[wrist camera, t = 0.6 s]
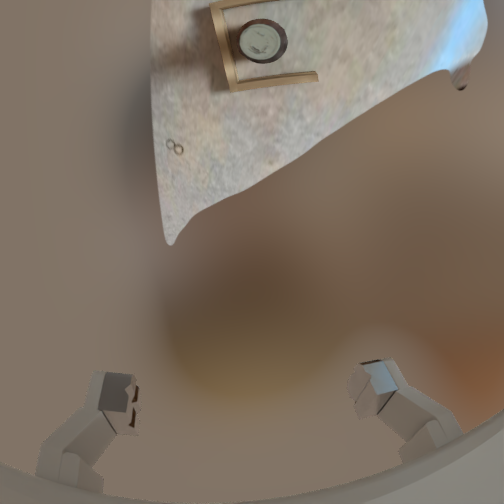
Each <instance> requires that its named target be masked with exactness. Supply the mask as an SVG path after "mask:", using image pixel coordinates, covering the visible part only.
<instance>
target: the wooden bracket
mask: <svg viewBox="0 0 504 504" xmlns="http://www.w3.org/2000/svg"><path fill="white" fill-rule="evenodd" d="M270 1H278V0H223V1H218V2H214V3H210V4H209V6H210V10H211V14H212V18H213V22H214V27H215V31H216V35H217V39H218V43H219V47H220V51H221V55H222V59H223V63H224V68H225V72H226V76H227V80H228V84H229V89H230V93H231V92H237V91H243V90H249V89H255V88H262V87H269V86H277V85H286V84H295V83H306V82H319V81H318V74H317V73H316V72H315V71H311V72H299V73H289V74H280V75H272V76H265V77H258V78H252V79H245V80H240V81H239V77H238V73H237V68H236V64H235V60H234V55H233V51H232V47H231V43H230V38H229V34H228V30H227V26H226V21H225V17H224V13H223V10H224V9H228V8H233V7H238V6H244V5H250V4H256V3H262V2H270Z"/></svg>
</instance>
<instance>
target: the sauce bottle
mask: <svg viewBox="0 0 504 504" xmlns="http://www.w3.org/2000/svg"><path fill="white" fill-rule="evenodd" d="M287 44H288V40H287V36H286V33H285V31H284V29H283V28H282V27H281V26H280V25H279V24H278V23H276V22H274V21H272V20H268V19H255V20H251V21H249V22H247V23H246V24H244V25H243V26H242V28H241V29H240V30H239V32H238V35H237V46H238V49H239V52H240V53H241V54H242V55H243V56H245V57H246V58H247V59H249V60H251V61H253V62H255V63H261V64H265V63H271V62H274V61H276V60H278V59H279V58H280V57H281V56H282V55H283V54H284V53H285V51H286V48H287Z"/></svg>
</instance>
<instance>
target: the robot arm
mask: <svg viewBox="0 0 504 504" xmlns="http://www.w3.org/2000/svg"><path fill="white" fill-rule="evenodd" d="M354 371H355V372H354V373H353V374H352V375H351V376H350V377H349V379H348V383H347V389H348V393H349V396H350V398H352V399H353V400H354V401H355V404H354V408H355V411H356V413H357V415H358V418H359V419H363V418H367V417H371V416H376V415H377V417H378V418H379V419H380V420H382V421H383V422H384V423H385V424H386V425H387V426H389V427H390V428H391V429H392V430H393V431H394V432H395V433H397V434H398V435H399V436H400V437H401V438H402V439H404V440H405V441H406V443H405V444H404V445H403V446H402V447H401V448H400V449H399V451H398V452H399V455H400V457H401V459H402V462H403V464H401V465H398V466H396V467H393V468H391V469H388V470H385V471H382V472H380V473H377V474H374V475H371V476H368V477H365V478H362V479H358V480H355V481H352V482H349V483H345V484H341V485H337V486H333V487H330V488H325V489H321V490H316V491H312V492H307V493H302V494H296V495H291V496H284V497H278V498H271V499H263V500H253V501H243V502H226V503H175V502H159V501H148V500H139V499H131V498H124V497H118V496H112V495H106V494H103V484H104V479H103V477H102V476H101V475H100V474H98V473H97V472H96V471H95V470H94V469H93V468H92V467H93V465H94V464H95V463H96V462H97V460H98V459H99V458H100V456H101V455H102V454H103V453H104V451H105V450H106V449H107V447H108V446H109V445H110V443H111V442H112V441H113V440H114V438H115V437H116V436H117V435H116V434H122V435H133V436H138V435H139V424H140V420H139V418H138V416H137V414H138V413H139V412H140V410H141V392H140V388H139V387H138V386H137V385H136V377H135V375H133V374H122V373H113V372H105V371H96V370H95V371H93V373H92V375H91V379H90V382H89V386H88V390H87V395H86V398H85V403H84V407H83V408H81V407H80V408H79V409H77V410H76V411H75V412H74V413H73V414H72V415H71V416H70V417H69V418H68V419H67V420H66V421H65V422H64V423H63V424H62V425H61V426H60V427H59V428H58V429H56V430H55V431H54V432H53V433H52V434H51V435H50V436H49V437H48V438H47V439H46V440H45V441H44V442H43V443H42V444H41V447H40V452H39V457H38V462H37V467H36V473H35V475H32V474H30V473H27V472H24V471H22V470H19V469H16V468H14V467H12V466H9V465H7V464H5V463H2V462H0V504H504V409H503V410H501V411H500V412H499V413H497V414H496V415H494V416H493V417H491V418H490V419H488V420H487V421H485V422H483V423H482V424H480V425H479V426H477V427H475V428H474V429H472V430H470V431H469V432H467V433H465V434H463V432H462V430H461V428H460V426H459V425H458V423H457V421H456V419H455V417H454V415H453V414H452V412H451V411H450V410H448V409H447V408H445V407H444V406H442V405H440V404H438V403H437V402H436V401H434V400H432V399H431V398H429V397H428V396H426V395H425V394H423V393H421V392H420V391H418V390H417V389H415V388H414V387H412V386H411V387H409V386H408V384H407V382H406V381H405V379H404V377H403V375H402V374H401V372H400V370H399V368H398V367H397V365H396V363H395V361H394V360H393V359H392V358H391V357H389V358H384V359H377V360H372V361H367V362H362V363H358V364H357V365H356V366H355V368H354Z"/></svg>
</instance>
